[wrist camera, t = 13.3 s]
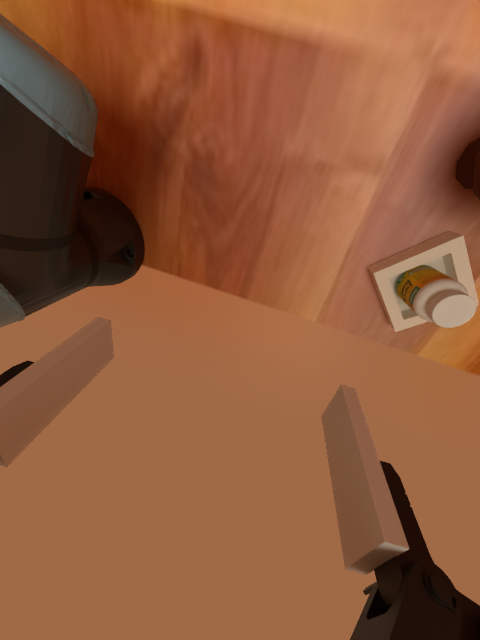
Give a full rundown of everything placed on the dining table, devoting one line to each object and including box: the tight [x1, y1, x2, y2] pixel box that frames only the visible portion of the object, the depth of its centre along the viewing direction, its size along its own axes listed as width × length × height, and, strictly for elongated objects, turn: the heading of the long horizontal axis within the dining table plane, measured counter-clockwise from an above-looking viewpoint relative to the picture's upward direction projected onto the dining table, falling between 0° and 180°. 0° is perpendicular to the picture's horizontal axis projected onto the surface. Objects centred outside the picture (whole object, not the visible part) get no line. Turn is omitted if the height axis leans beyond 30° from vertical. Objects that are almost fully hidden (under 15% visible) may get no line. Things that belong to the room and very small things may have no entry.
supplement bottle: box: [395, 265, 476, 328], centre depth 30 cm, size 5×5×10 cm
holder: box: [367, 231, 479, 332], centre depth 33 cm, size 10×10×3 cm
